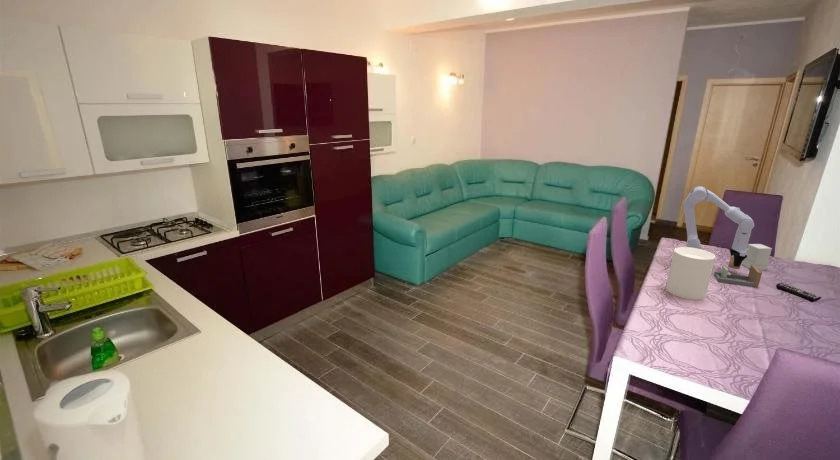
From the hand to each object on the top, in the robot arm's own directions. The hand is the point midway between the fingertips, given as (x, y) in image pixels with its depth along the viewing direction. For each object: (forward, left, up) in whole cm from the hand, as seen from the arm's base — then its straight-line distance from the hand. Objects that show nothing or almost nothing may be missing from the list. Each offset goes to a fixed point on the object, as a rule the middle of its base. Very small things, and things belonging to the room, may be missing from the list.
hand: (734, 264), depth 201 cm
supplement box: (+13, +15, -6) cm, 21 cm away
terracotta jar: (0, 0, -2) cm, 2 cm away
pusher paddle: (-5, -10, -5) cm, 12 cm away
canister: (-26, -34, -6) cm, 43 cm away
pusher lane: (-2, -10, -6) cm, 12 cm away
